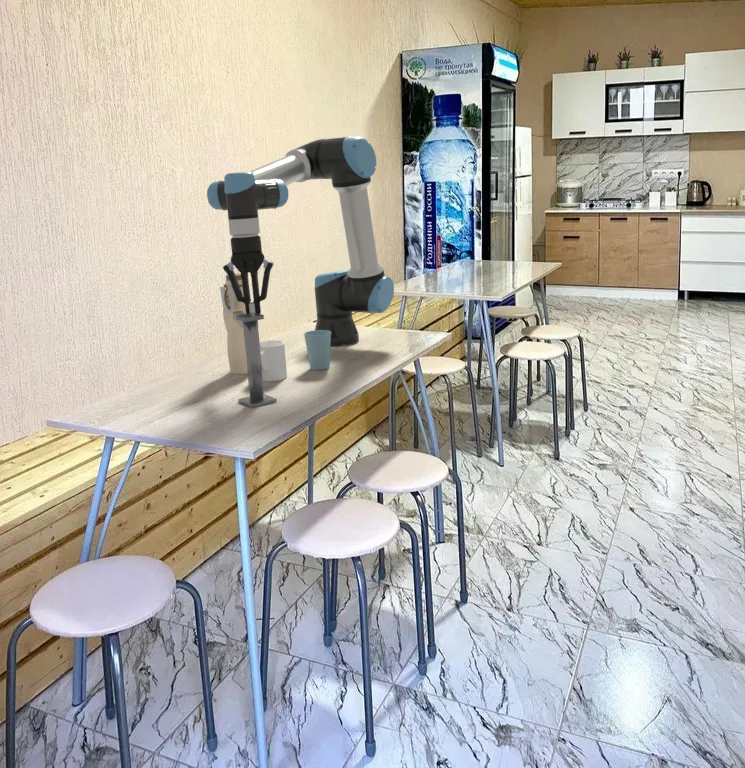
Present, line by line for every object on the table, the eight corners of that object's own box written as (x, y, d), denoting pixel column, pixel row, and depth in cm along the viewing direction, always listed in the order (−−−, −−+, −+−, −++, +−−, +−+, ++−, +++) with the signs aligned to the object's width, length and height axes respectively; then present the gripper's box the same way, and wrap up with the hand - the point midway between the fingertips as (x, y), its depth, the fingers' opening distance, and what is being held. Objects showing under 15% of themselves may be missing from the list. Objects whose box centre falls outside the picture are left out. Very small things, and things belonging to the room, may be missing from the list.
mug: (248, 385, 212) (244, 350, 210) (264, 374, 224) (261, 340, 221) (276, 385, 211) (273, 350, 208) (290, 374, 222) (288, 340, 219)
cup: (303, 371, 224) (301, 335, 222) (309, 364, 232) (307, 330, 229) (330, 371, 223) (328, 335, 221) (334, 364, 231) (332, 329, 228)
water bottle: (252, 376, 222) (242, 277, 214) (222, 376, 224) (211, 278, 216) (264, 367, 232) (255, 272, 224) (235, 367, 233) (225, 272, 226)
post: (263, 396, 201) (255, 311, 195) (276, 401, 196) (269, 314, 190) (238, 402, 197) (230, 315, 191) (251, 407, 192) (243, 319, 186)
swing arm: (254, 329, 194) (253, 320, 194) (244, 330, 194) (243, 321, 193) (241, 317, 211) (241, 309, 211) (232, 318, 211) (231, 310, 210)
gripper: (272, 233, 201) (281, 323, 207) (223, 236, 202) (233, 326, 208) (268, 235, 194) (277, 329, 200) (216, 238, 194) (227, 332, 200)
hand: (255, 327), depth 204 cm, fingers closed
